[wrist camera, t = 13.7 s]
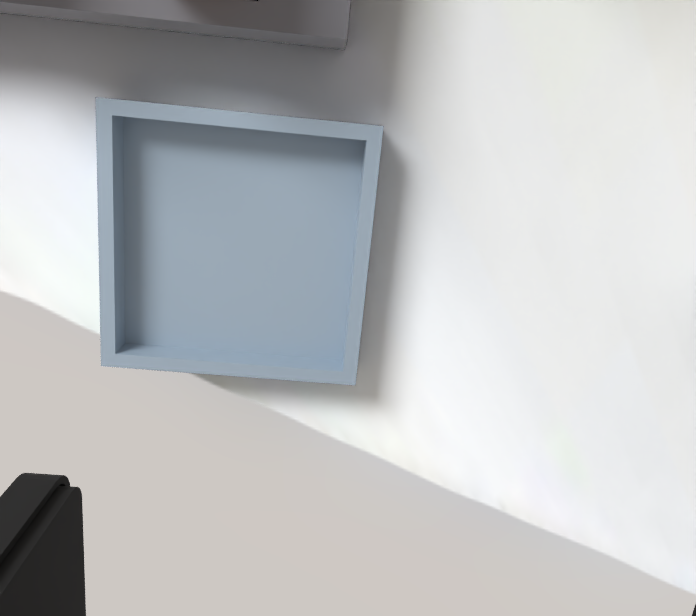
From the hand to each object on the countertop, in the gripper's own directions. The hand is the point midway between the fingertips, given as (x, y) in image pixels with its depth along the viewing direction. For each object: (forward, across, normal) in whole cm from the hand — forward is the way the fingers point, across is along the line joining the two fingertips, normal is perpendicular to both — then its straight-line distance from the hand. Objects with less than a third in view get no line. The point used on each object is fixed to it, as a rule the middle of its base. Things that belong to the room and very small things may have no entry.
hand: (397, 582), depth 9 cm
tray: (+28, +6, +1) cm, 29 cm away
